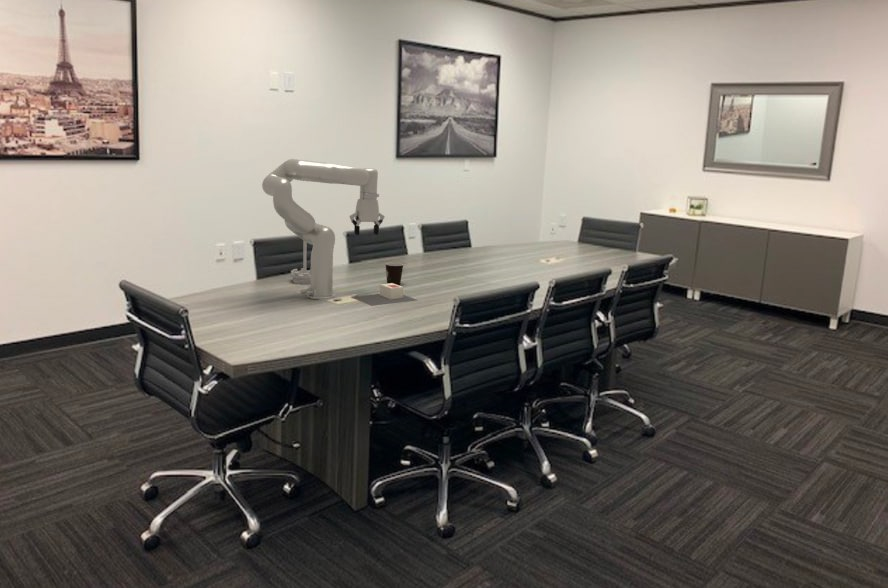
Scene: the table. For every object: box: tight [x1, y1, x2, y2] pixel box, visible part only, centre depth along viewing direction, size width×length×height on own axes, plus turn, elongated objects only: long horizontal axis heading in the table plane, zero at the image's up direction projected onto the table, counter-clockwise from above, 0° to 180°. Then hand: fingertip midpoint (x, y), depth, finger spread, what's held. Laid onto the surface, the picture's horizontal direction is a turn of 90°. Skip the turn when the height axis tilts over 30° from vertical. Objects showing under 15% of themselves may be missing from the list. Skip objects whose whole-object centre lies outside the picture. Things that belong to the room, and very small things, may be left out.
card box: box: [379, 283, 404, 299], centre depth 324 cm, size 9×6×5 cm
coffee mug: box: [385, 262, 404, 286], centre depth 354 cm, size 12×9×10 cm
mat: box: [350, 293, 417, 307], centre depth 321 cm, size 24×18×1 cm
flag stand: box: [290, 239, 311, 285], centre depth 347 cm, size 13×13×30 cm
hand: (366, 234), depth 328 cm, fingers open, 9 cm apart
